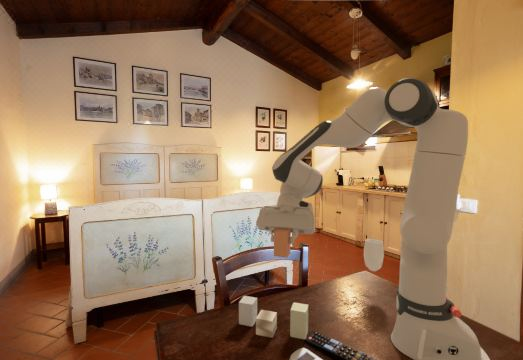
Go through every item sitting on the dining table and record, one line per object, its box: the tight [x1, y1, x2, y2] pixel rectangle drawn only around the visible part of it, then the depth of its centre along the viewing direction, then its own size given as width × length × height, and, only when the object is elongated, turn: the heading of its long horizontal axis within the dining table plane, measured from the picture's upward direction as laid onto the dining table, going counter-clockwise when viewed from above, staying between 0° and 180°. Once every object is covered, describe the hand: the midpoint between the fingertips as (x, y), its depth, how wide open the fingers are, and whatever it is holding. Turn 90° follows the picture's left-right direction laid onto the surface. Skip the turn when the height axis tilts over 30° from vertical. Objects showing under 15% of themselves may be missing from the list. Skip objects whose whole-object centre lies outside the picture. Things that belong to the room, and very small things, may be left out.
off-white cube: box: [255, 309, 278, 339], centre depth 81 cm, size 5×5×5 cm
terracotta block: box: [273, 229, 292, 259], centre depth 90 cm, size 4×4×8 cm
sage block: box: [289, 302, 309, 340], centre depth 80 cm, size 4×4×8 cm
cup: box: [363, 238, 385, 272], centre depth 104 cm, size 7×7×21 cm
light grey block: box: [238, 295, 258, 327], centre depth 86 cm, size 4×4×7 cm
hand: (281, 242), depth 89 cm, fingers closed on terracotta block, 4 cm apart
